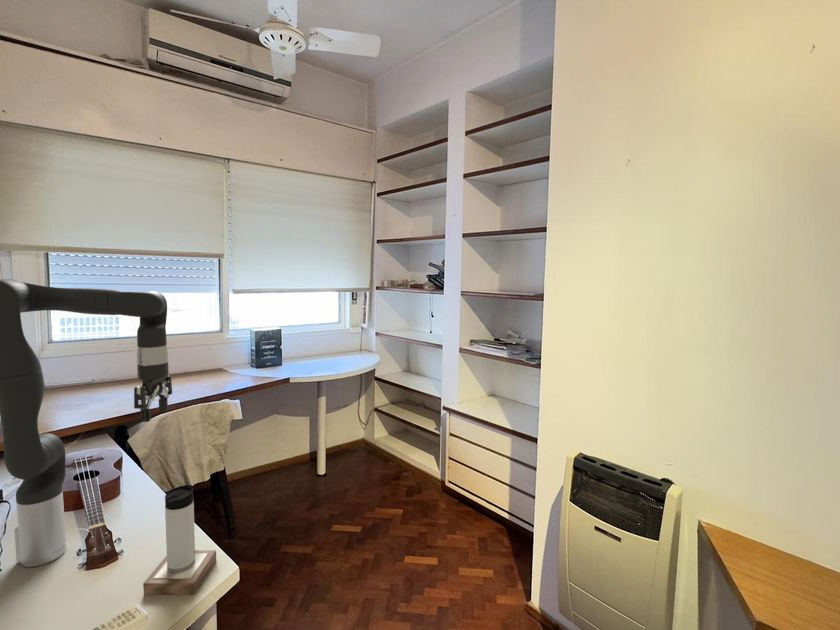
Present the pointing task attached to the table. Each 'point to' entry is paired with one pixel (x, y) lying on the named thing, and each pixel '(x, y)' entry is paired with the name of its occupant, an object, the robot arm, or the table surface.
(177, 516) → the travel mug
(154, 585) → the plinth
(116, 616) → the table surface
